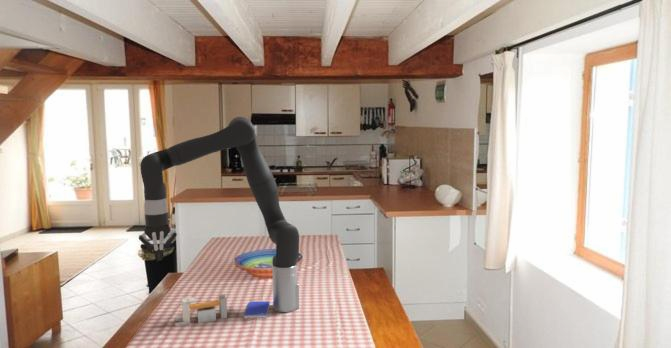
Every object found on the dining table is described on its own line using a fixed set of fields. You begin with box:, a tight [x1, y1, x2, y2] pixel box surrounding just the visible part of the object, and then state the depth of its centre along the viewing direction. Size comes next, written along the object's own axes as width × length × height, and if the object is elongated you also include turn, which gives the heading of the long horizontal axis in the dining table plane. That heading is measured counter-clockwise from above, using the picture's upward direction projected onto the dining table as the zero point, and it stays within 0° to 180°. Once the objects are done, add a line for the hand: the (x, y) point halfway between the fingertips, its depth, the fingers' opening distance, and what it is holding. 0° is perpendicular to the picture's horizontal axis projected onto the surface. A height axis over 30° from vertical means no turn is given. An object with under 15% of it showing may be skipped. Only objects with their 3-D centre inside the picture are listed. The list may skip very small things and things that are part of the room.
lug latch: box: [181, 296, 196, 324], centre depth 166 cm, size 4×4×8 cm
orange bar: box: [189, 299, 221, 311], centre depth 168 cm, size 12×2×2 cm, turn 111°
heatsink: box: [196, 306, 217, 324], centre depth 168 cm, size 6×6×4 cm
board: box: [174, 293, 228, 327], centre depth 168 cm, size 19×15×8 cm
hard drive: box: [243, 301, 271, 319], centre depth 178 cm, size 2×8×12 cm
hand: (159, 259), depth 164 cm, fingers closed
